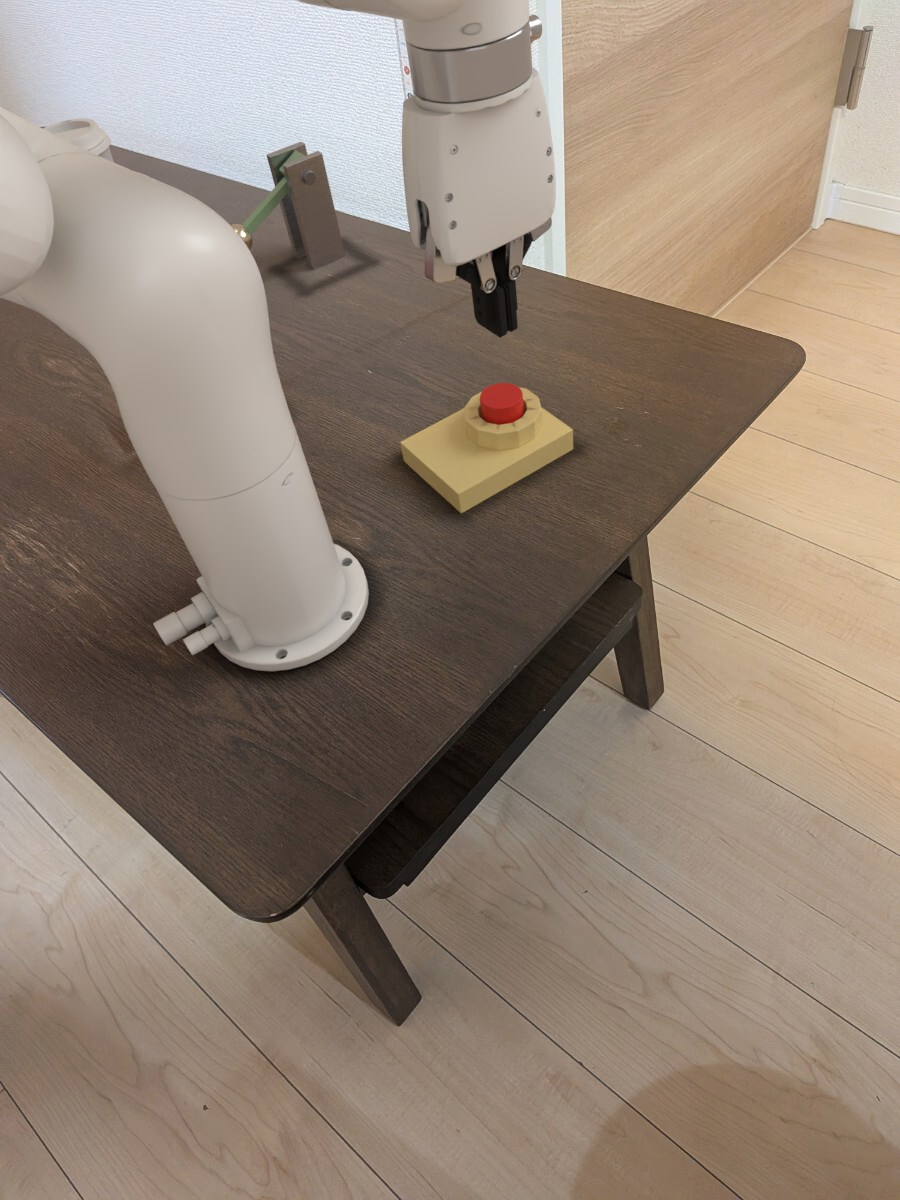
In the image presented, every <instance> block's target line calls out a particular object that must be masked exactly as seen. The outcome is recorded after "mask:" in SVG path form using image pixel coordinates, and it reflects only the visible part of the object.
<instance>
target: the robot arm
mask: <svg viewBox="0 0 900 1200" xmlns="http://www.w3.org/2000/svg"><path fill="white" fill-rule="evenodd" d="M295 2H300V3H303V4H307V5H311V6H317V7H322V8H329V9H335V10H341V11H346V12H347V11H348V12H356V13H363V14H368V15H374V16H379V17H385V18H391V19H393V20H394V19H395V20H400V21H402V27H403V34H404V40H405V41H404V42H405V46H406V53H407V59H408V65H409V72H410V78H411V85H412V93H413V95H412V96H410V97H408V98H406V99H404V100H403V103H402V113H401V114H402V115H401V116H402V117H401V120H402V121H401V160H402V172H403V173H402V175H403V186H404V196H405V205H406V214H407V222H408V228H409V234H410V238H411V241H412V243H413V246H415V248H417V249H420V250H425V251H424V270H423V271H424V276H425V277H426V278H427V279H428V280H430V281H431V282H433V283H435V284H436V285H441V284H445V283H450V282H455V281H457V280H463V281H464V282H467V283H468V284H470V290H471V297H472V304H473V306H472V307H473V313H474V318H475V320H476V322H477V324H478V325H480V326H481V327H483V328H485V330H487V331H489V332H491V334H493V335H495V336H496V337H498V338H502V337H505V336H506V335H508V332H511V333H512V332H515V331H516V330H517V329H518V327H519V325H518V314H517V311H518V296H517V295H518V294H517V285H516V284H517V280H518V279H520V277H521V275H522V273H523V262H524V261H523V260H524V259H525V257H526V255H527V253H528V251H529V250H530V247H531V246H532V244H533V243H534V242H536V241H537V240H538V239H539V238H540V237H542V235H544V234H545V233H546V232H547V231H549V230H550V228H551V227H552V223H553V220H552V216H553V215H554V212H555V208H556V198H557V194H556V193H557V184H556V183H557V182H556V165H555V154H554V145H553V138H552V128H551V122H550V115H549V110H548V106H547V100H546V95H545V91H544V87H543V83H542V80H541V77H540V73H539V71H538V70H537V69H536V68H534V67H533V56H532V54H533V53H532V44H533V43H534V42H535V41H537V40H539V39H540V38H541V37H542V34H543V25H542V21H541V20H540V18H539V16H538V15H536V14H530V4H529V3H530V1H529V0H295ZM230 225H231V224H229V222H228V221H226V219H225V218H223V217H222V216H221V215H220V214H219V213H218V212H217V211H215V210H214V209H212V208H211V207H209V206H208V205H207V204H205V203H203V202H202V201H200V200H199V199H197V198H196V197H194V196H192V195H191V194H188V193H186V192H185V191H183V190H181V189H178V188H176V187H174V186H172V185H169V184H167V183H165V182H162V181H160V180H158V179H155V178H153V177H152V176H148V175H146V174H144V173H142V172H138V171H135V170H132V169H129V168H127V167H125V166H123V165H120V164H118V163H116V162H114V163H113V162H111V161H109V160H107V159H104V158H102V157H100V156H98V155H95V154H93V153H91V152H89V151H87V150H85V149H83V148H81V147H78V146H76V145H74V144H72V143H70V142H68V141H66V140H64V139H62V138H60V137H58V136H56V135H54V134H52V133H50V132H48V131H46V130H44V129H43V127H40V126H38V125H37V124H35V123H32V122H31V121H29V120H27V119H25V118H23V117H21V116H20V115H18V114H15V113H13V112H11V111H9V110H8V109H5V108H4V107H2V106H0V299H2V300H5V301H9V302H12V303H14V304H18V305H20V306H21V307H22V306H23V307H25V308H28V309H30V310H32V311H34V312H37V313H38V314H40V315H42V316H43V317H44V318H46V319H48V320H49V321H50V322H52V323H53V324H55V325H56V326H58V328H60V329H61V331H63V332H64V333H65V334H67V335H68V336H69V337H71V338H72V339H74V340H75V341H76V342H78V343H79V344H80V345H82V346H83V348H85V349H86V350H87V351H88V353H89V354H90V355H91V356H92V357H93V358H94V359H95V360H96V362H97V363H98V365H99V366H100V367H101V369H102V371H103V373H104V374H105V377H106V378H107V380H108V382H109V384H110V386H111V389H112V391H113V394H114V396H115V399H116V400H115V401H116V403H117V407H118V410H119V413H120V417H121V420H122V423H123V425H124V428H125V431H126V433H127V436H128V439H129V440H130V443H131V444H132V447H133V449H134V451H135V453H136V456H137V458H138V459H139V461H140V463H141V465H142V466H143V468H144V471H145V472H146V474H147V476H148V478H149V480H150V482H151V484H152V485H153V486H154V488H155V489H156V492H157V494H158V495H159V497H160V499H161V501H162V503H163V505H164V507H165V509H166V510H167V513H168V515H169V516H170V519H171V520H172V522H173V524H174V526H175V528H176V529H177V532H178V533H179V535H180V537H181V539H182V541H183V543H184V545H185V546H186V548H187V550H188V552H189V555H190V557H191V558H192V560H193V562H194V563H195V565H196V567H197V569H198V571H199V573H200V575H201V576H199V577H198V578H196V582H197V584H198V586H199V588H200V590H201V592H198V594H196V595H194V596H192V597H190V600H191V602H192V603H190V604H189V605H187V606H185V607H183V608H181V609H179V610H177V611H173V612H171V613H169V614H167V615H165V616H163V617H161V618H160V619H158V620H156V621H154V622H152V624H153V627H154V628H155V630H156V632H157V633H158V635H159V637H160V638H161V640H162V641H163V643H164V645H165V646H169V645H171V644H173V643H175V642H176V641H178V640H180V639H182V638H183V637H185V636H187V635H188V634H189V633H190V632H191V631H193V630H194V629H196V628H198V627H200V626H202V625H204V624H205V628H202V629H201V630H197V631H196V632H194V633H192V634H190V635H188V636H187V637H185V638H183V639H182V641H183V643H184V644H185V646H186V647H187V650H188V651H189V652H190V654H191V656H192V657H193V656H195V655H196V654H198V653H199V652H202V651H203V650H205V649H207V648H209V646H210V645H212V644H213V646H215V648H216V649H217V650H218V652H219V654H221V655H222V656H223V657H225V658H226V659H227V660H228V661H230V662H231V663H234V664H236V665H238V666H240V667H242V668H245V669H250V670H254V671H262V672H279V671H290V670H293V669H296V668H301V667H305V666H307V665H309V664H312V663H314V662H317V661H318V660H319V661H320V660H321V659H322V658H325V657H326V656H328V655H329V654H331V653H333V652H334V651H336V650H337V649H339V648H340V646H342V645H343V644H344V643H346V642H347V640H348V639H349V638H350V637H351V636H352V635H353V634H354V633H355V632H356V630H357V629H358V627H359V625H360V624H361V622H362V621H363V619H364V616H365V615H366V611H367V608H368V605H369V595H370V591H369V583H368V580H367V577H366V574H365V571H364V568H363V567H362V565H361V563H360V562H359V560H358V559H357V558H356V557H355V556H354V555H353V554H352V553H351V552H350V551H349V550H347V549H345V548H343V546H340V545H339V544H336V543H334V541H333V537H332V535H331V532H330V529H329V526H328V523H327V520H326V517H325V513H324V510H323V508H322V505H321V502H320V498H319V496H318V492H317V490H316V486H315V483H314V480H313V477H312V475H311V471H310V468H309V465H308V463H307V458H306V456H305V453H304V450H303V447H302V445H301V441H300V438H299V435H298V433H297V429H296V426H295V424H294V421H293V418H292V415H291V412H290V410H289V409H290V408H289V406H288V402H287V400H286V396H285V394H284V390H283V386H282V383H281V380H280V375H279V371H278V369H277V368H278V367H277V364H276V358H275V354H274V348H273V341H272V335H271V327H270V319H269V308H268V301H267V295H266V291H265V285H264V282H263V278H262V275H261V271H260V269H259V267H258V264H257V262H256V259H255V257H254V256H253V254H252V253H251V251H249V249H248V247H247V246H246V244H245V243H244V241H243V240H242V238H241V237H240V236H239V235H238V233H237V232H236V231H235V230H234V229H233V228H232V227H231V226H230Z"/></svg>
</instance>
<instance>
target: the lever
mask: <svg viewBox="0 0 900 1200" xmlns="http://www.w3.org/2000/svg"><path fill="white" fill-rule="evenodd" d="M303 156H305V155H303V154H301V153H299V152H298V151H295V152H294V153H293V154H292V155H291V156H290V157H289V158H288V160H287V161H286V162H285V163H288V162H291V161H293V160H296V159H298V158H301V157H303ZM285 163H284V164H285ZM279 171H280V172H281V173H282V174H283V176H284V178H283V179H282V180H281V181H280V182H279V183H278V184H277V185H276V187H275V186H274V188H272V190H271V191H270V192H269V193H268V194H267V196H266V197H265V198H264V199H263V200H262V201H261V203H260V204H258V206H257V207H256V208H255V209H254V210H253V212H251V214H250V215H249V216H248V217H247V219H246V220H245V221H243V223H241V224H240V223H231V224H229V225H230V226H231V227H232V228H233V229H234V230H235V231H236V232H237V233H238V235H239V236H240V237H241V238H242V240H243V241H244V243H245V244H246V246H247V247H248V249H249V251H250V250H251V249H252V247H253V243H254V242H253V241H254V240H253V236H252V235H253V233H255V231H256V230H257V229H258V228H259V227H260V225H262V223H263V222H264V221H265V220H266V219H267V217H268V216H269V215H270V214H271V213H272V212H273V211H274V210H275V209H276V207H277V206H278V205H280V201H281V200H282V199H283V198H284V197H285V196H286V195H287V194H288V192H289V188H288V184H287V180H286V176H285V173H284V169H283V165H282V166H281V168H280V169H279ZM250 252H251V251H250Z"/></svg>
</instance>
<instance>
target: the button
mask: <svg viewBox="0 0 900 1200" xmlns="http://www.w3.org/2000/svg"><path fill="white" fill-rule="evenodd" d="M519 387H520V386H518V385H516V384H513V383H510V382H498V383H494V384H491V385H489V386H487V387H485V388H484V389H483V390H482V391H481V392H482V393H481V395H480V404H481V413H482V417H483V419H484V420H485V421H486V422H488V423H492V424H497V425H501V424H507V423H513V422H515V421H516V420H518V419H520V418H521V416H522V415H523V412H524V407H523V393H522V391H521V389H520V388H521V387H520V388H519Z"/></svg>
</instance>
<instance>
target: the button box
mask: <svg viewBox="0 0 900 1200" xmlns="http://www.w3.org/2000/svg"><path fill="white" fill-rule="evenodd" d="M518 387H519V388H520V389H521V391H522V393H523V407H524V412H523V415H522V416H521V418H520V419H518V420H516V421H515V422H513V423H507V424H501V425H497V424H492V423H488V422H486V421H485V420H484V419H483V417H482V413H481V404H480V395H481V393H482V391H480V392H478V393H476V394H475V395H473V396H471V398H470V399H469V400H468V402H467V403H466V405H465V406H464V407H463V408H462V409H460V410H458V411H456V412H454V413H452V414H449V416H447V417H445V418H443V419H441V420H439V421H437V422H436V423H433V424H431V425H429V426H427V427H426V428H424V429H422V430H420V431H418V432H417V433H414V434H412V435H411V436H409V437H407V438H405V439H403V440H402V441H400V442H399V445H400V449H401V453H402V458H403V462H404V463H405V464H406V465H408V466H409V467H410V468H411V469H412V470H413V471H414V472H415V473H416V474H418V475H419V477H421V479H423V480H424V481H425V482H426V483H427V484H428V485H429V486H431V488H432V489H434V491H436V492H437V493H438V494H439V495H440V496H442V498H444V499H445V500H446V501H447V502H448V503H449V504H451V506H452V507H454V508H455V509H456V510H457V511H458V512H459V513H460V514H463V513H465V512H466V511H468V510H470V509H471V508H473V507H475V506H477V505H479V504H480V503H482V502H484V501H486V500H487V499H489V498H491V497H493V496H494V495H496V494H498V493H499V492H502V491H503V490H505V489H507V488H508V487H510V486H512V485H514V484H515V483H517V482H519V481H520V480H522V479H524V478H526V477H527V476H529V475H531V474H533V473H534V472H536V471H538V470H540V469H541V468H544V467H545V466H547V465H548V464H551V462H554V461H556V460H557V459H559V458H561V457H563V456H564V455H566V454H567V453H569V452H571V451H573V450H574V429H573V428H572V427H571V426H569V425H568V424H566V423H565V422H563V421H562V420H560V419H559V418H557V417H556V416H555V415H553V414H552V413H550V412H549V411H548V410H547V409H545V408H543V407H542V406H541V405H542V404H541V401H540V398H539V396H538V395H536V394H534V393H533V392H532V391H531V390H529V389H528V388H526V387H520V386H518Z"/></svg>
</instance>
